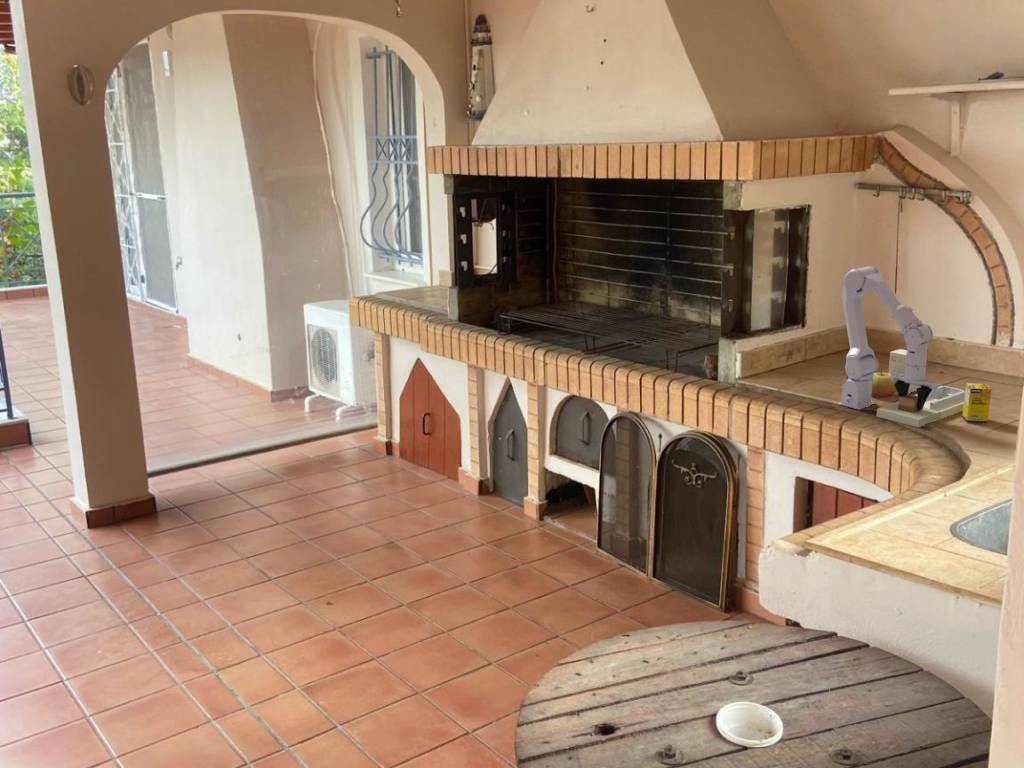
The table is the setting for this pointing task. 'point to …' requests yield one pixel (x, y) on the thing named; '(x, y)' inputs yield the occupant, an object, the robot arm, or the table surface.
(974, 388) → the supplement box
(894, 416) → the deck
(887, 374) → the apple
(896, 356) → the small box
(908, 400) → the block
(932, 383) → the robot arm
